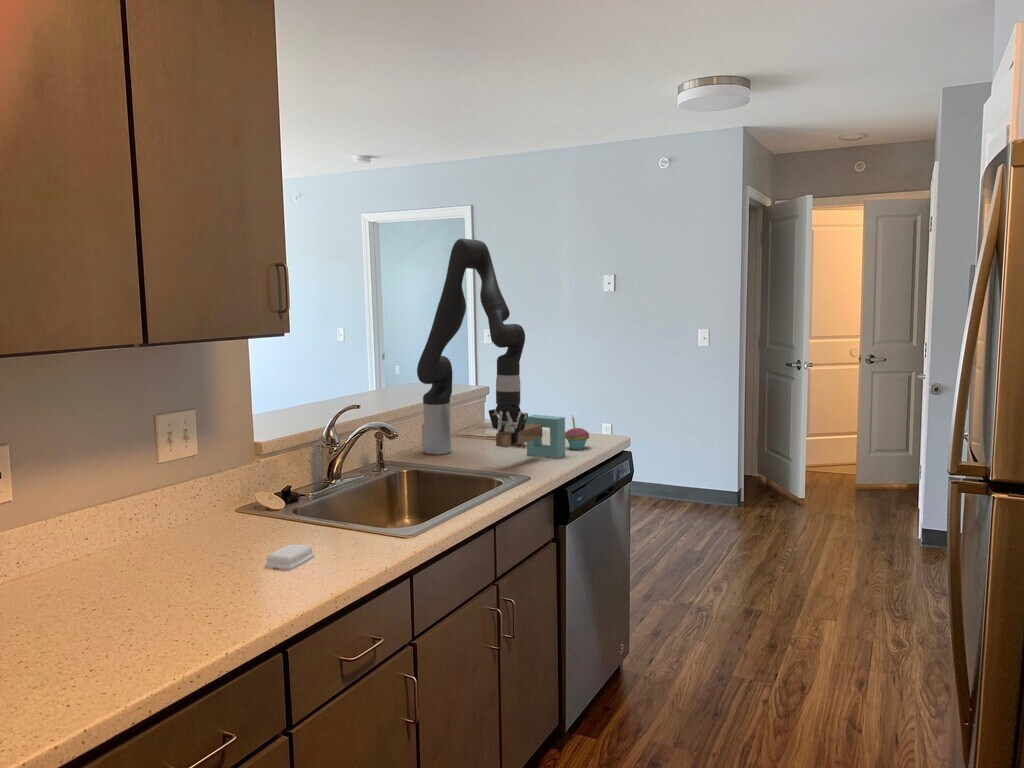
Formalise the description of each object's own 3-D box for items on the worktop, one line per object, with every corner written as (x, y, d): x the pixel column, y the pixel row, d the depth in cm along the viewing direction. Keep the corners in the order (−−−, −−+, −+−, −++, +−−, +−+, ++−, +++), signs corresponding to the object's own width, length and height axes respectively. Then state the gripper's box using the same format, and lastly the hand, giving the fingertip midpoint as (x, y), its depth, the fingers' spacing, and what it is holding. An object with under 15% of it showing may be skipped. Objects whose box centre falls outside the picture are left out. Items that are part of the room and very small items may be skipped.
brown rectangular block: (496, 446, 232) (496, 433, 231) (532, 435, 248) (532, 423, 247) (506, 447, 229) (506, 434, 229) (542, 436, 246) (542, 424, 245)
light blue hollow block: (527, 454, 253) (526, 416, 251) (535, 452, 257) (534, 414, 255) (557, 458, 246) (557, 419, 244) (565, 455, 250) (564, 417, 248)
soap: (289, 554, 159) (288, 541, 159) (317, 557, 157) (316, 544, 156) (262, 569, 150) (261, 555, 150) (290, 572, 148) (290, 558, 148)
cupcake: (577, 451, 256) (577, 417, 255) (559, 448, 263) (559, 414, 261) (594, 448, 262) (594, 414, 260) (576, 444, 268) (576, 411, 267)
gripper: (482, 388, 232) (482, 442, 234) (520, 392, 224) (520, 448, 226) (496, 385, 238) (496, 438, 241) (534, 389, 230) (533, 444, 232)
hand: (508, 443), depth 233 cm, fingers closed on brown rectangular block, 4 cm apart
